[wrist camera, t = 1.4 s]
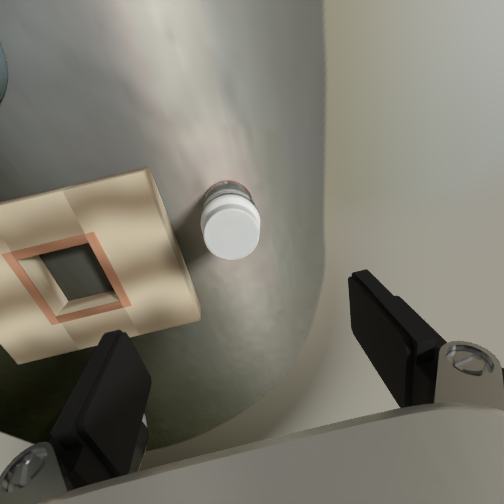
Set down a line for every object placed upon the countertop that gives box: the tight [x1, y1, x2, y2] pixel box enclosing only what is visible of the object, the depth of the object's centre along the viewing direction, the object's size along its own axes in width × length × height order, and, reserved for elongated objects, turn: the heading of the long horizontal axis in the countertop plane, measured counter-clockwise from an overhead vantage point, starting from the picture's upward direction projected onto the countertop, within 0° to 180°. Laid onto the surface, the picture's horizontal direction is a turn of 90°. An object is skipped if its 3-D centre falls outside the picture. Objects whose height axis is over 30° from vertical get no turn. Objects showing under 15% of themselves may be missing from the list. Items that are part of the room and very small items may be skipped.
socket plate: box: [0, 167, 201, 364], centre depth 27 cm, size 16×20×3 cm
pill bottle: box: [201, 180, 260, 260], centre depth 23 cm, size 5×5×8 cm
